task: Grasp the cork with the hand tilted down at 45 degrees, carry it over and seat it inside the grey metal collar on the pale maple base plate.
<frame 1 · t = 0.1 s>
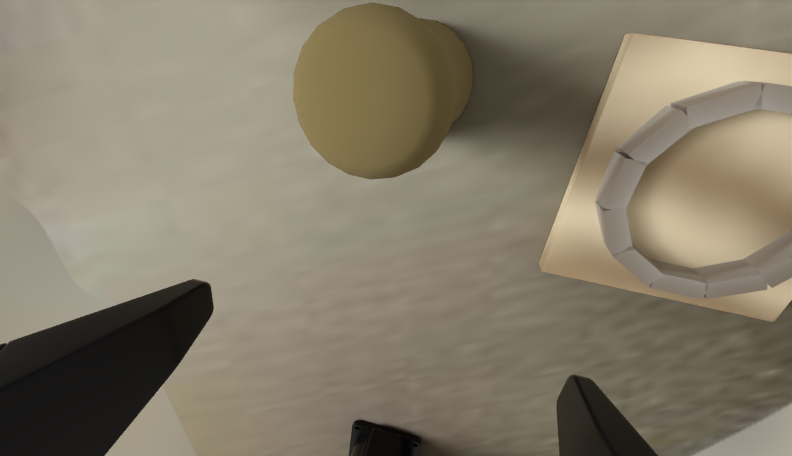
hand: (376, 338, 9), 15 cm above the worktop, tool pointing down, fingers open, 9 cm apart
seat: (700, 188, 19), on the worktop
cork: (418, 81, 20), on the worktop
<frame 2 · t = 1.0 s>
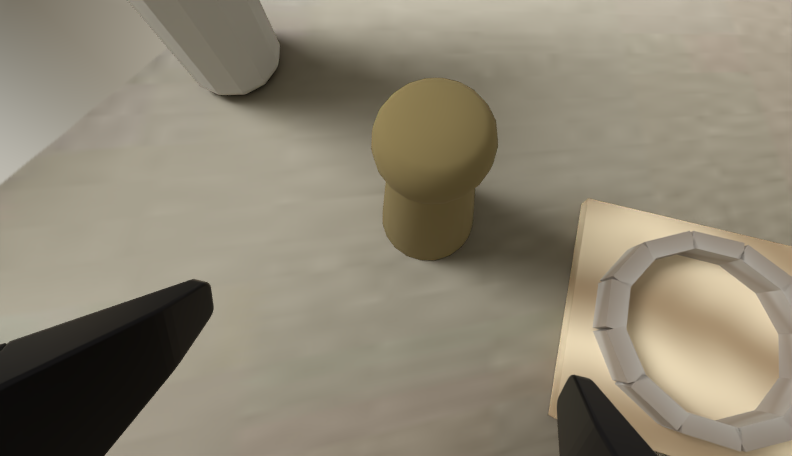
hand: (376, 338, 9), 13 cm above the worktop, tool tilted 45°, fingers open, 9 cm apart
seat: (680, 332, 21), on the worktop
water bottle: (253, 63, 29), on the worktop
cork: (427, 217, 24), on the worktop
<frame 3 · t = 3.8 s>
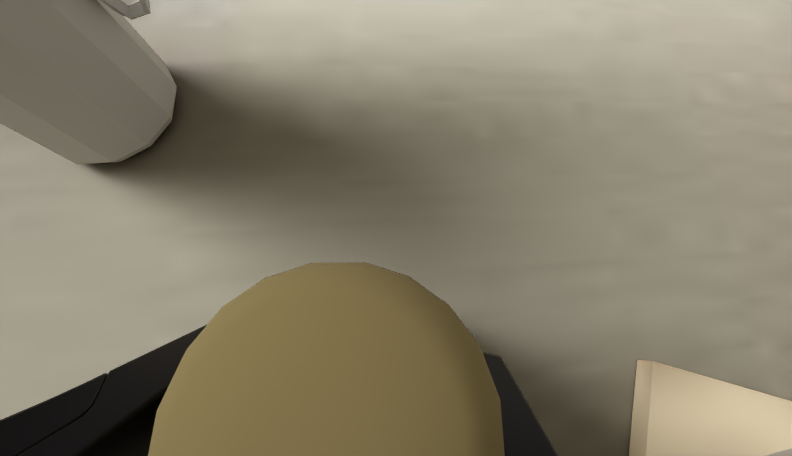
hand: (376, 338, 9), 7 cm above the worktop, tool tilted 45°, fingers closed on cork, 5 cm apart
water bottle: (141, 111, 20), on the worktop
cork: (385, 375, 15), on the worktop, touching gripper
when the fingers open (8 cm above the worktop, at t = 7.7 s): cork stays where it is, resting on seat.
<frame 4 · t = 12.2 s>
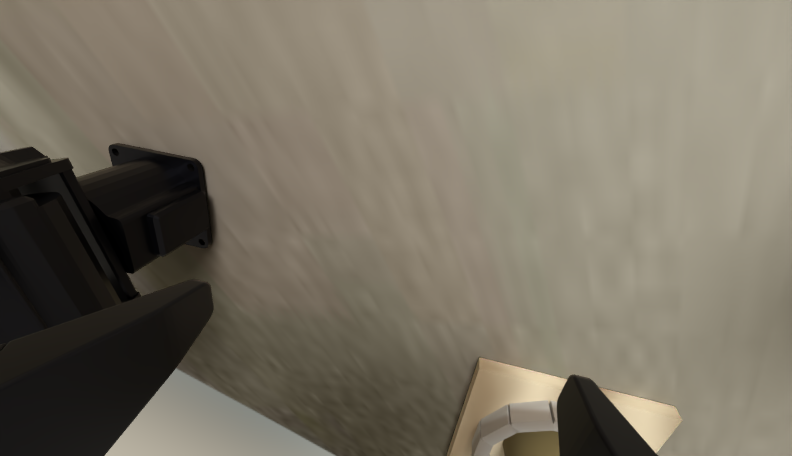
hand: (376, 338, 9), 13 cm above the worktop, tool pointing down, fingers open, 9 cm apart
seat: (543, 438, 27), on the worktop
cork: (544, 446, 27), point 1 cm above the worktop, touching seat
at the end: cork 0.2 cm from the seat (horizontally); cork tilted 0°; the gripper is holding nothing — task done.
